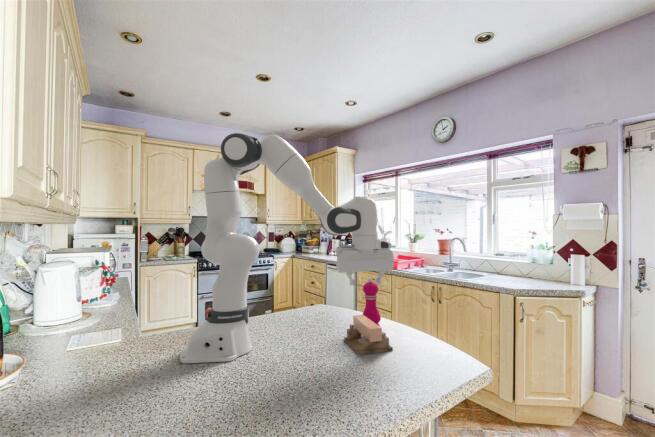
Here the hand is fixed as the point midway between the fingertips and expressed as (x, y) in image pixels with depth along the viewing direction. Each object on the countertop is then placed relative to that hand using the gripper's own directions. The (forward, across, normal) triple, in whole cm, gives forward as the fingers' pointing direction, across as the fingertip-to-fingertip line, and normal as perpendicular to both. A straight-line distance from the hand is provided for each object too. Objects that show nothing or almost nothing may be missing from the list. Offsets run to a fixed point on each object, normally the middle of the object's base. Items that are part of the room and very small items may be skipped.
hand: (365, 284), depth 108 cm
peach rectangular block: (+17, 0, 0) cm, 17 cm away
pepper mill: (+21, +8, +15) cm, 27 cm away
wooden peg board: (+21, 0, 0) cm, 21 cm away
